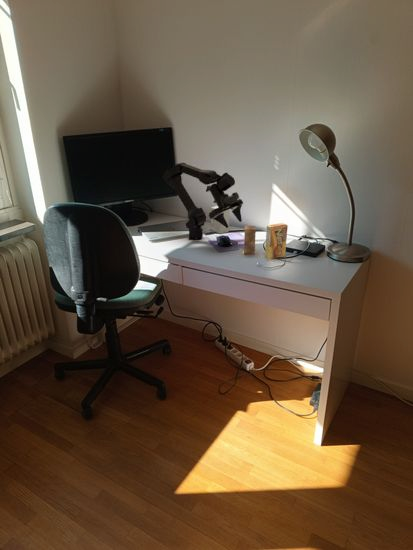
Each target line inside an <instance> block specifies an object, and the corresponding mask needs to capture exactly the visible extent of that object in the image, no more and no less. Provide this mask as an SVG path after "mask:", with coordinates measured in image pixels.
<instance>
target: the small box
mask: <svg viewBox="0 0 413 550" xmlns="http://www.w3.org/2000/svg"><path fill="white" fill-rule="evenodd" d="M216 208H219V207H218V205H215V206H211V207H210V212H211V211H213V210H214V209H216ZM222 213H224V218H225V220H226V222H227V224H228V228H226V227H225V226H223V225H222V224H221V223H219V222H218V221H216V220H213V218H212V219H210V230H211V232H214V233H218V234H225V233H228V232H230V209H229V210H226V211H224V212H222Z"/></svg>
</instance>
